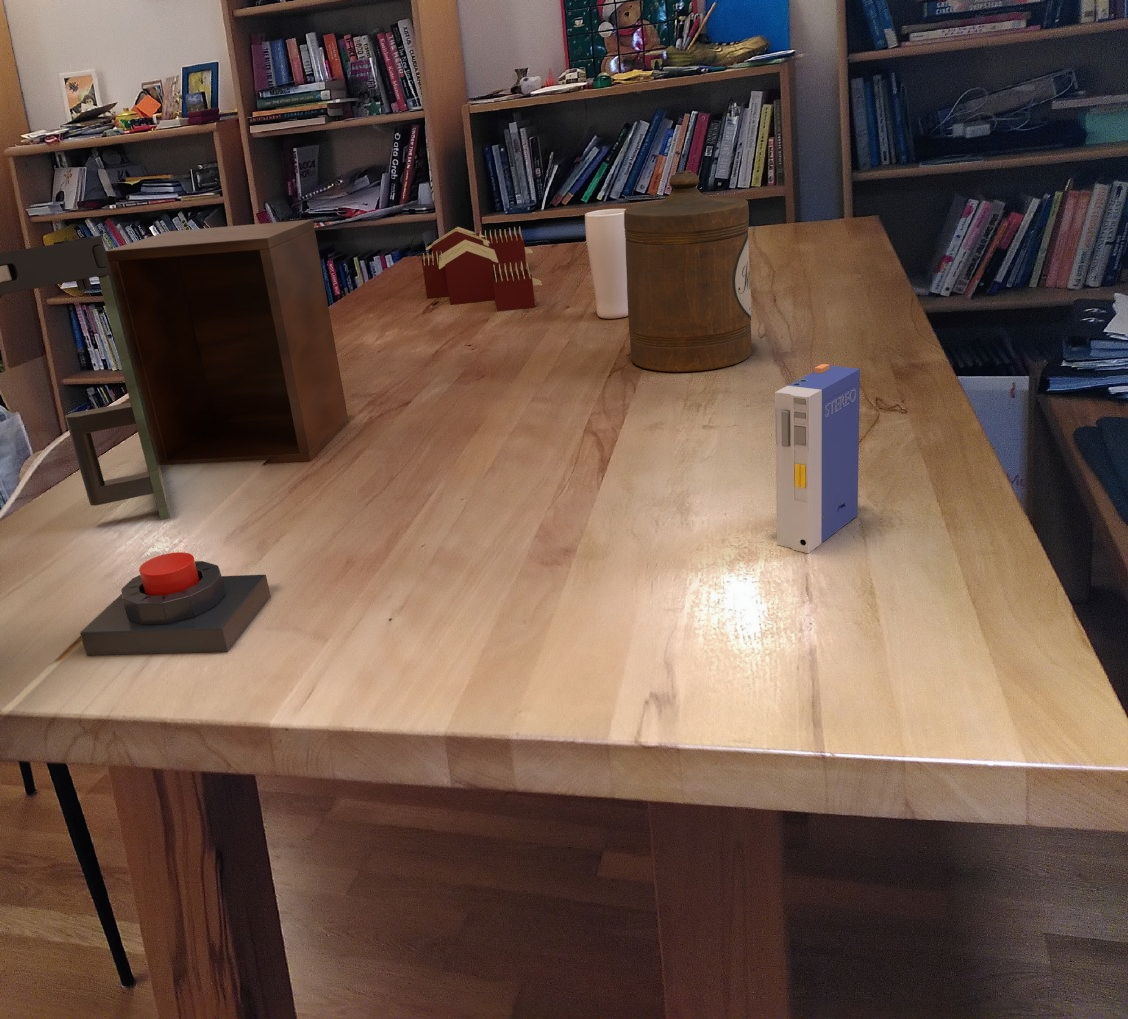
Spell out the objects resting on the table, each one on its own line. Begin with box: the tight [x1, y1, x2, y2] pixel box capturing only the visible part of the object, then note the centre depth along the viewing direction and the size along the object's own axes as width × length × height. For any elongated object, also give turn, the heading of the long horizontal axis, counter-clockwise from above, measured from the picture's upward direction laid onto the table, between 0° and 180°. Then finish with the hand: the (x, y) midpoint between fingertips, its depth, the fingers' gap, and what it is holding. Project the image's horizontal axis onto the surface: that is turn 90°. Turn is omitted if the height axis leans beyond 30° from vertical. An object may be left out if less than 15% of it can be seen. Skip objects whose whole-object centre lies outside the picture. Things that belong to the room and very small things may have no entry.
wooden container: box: [624, 170, 752, 373], centre depth 125 cm, size 15×15×22 cm
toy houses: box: [420, 226, 544, 312], centre depth 184 cm, size 45×20×10 cm, turn 6°
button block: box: [79, 560, 272, 657], centre depth 72 cm, size 10×8×4 cm
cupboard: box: [105, 219, 350, 466], centre depth 107 cm, size 13×16×22 cm
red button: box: [138, 551, 199, 596], centre depth 72 cm, size 4×4×2 cm
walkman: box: [774, 363, 861, 554], centre depth 76 cm, size 8×3×12 cm, turn 139°
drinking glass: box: [584, 208, 628, 320], centre depth 152 cm, size 7×7×15 cm
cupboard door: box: [64, 274, 171, 521], centre depth 94 cm, size 6×16×22 cm, turn 23°
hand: (11, 269), depth 77 cm, fingers open, 13 cm apart
